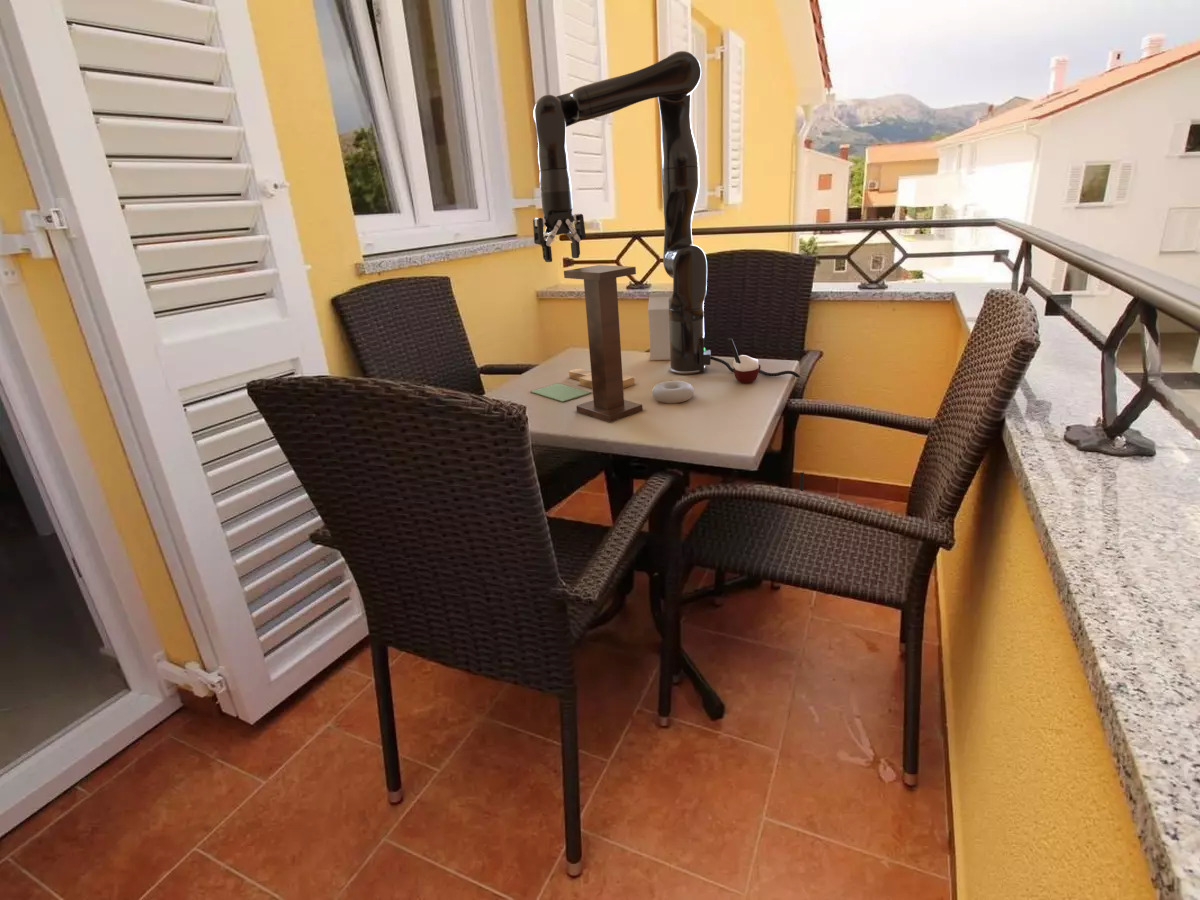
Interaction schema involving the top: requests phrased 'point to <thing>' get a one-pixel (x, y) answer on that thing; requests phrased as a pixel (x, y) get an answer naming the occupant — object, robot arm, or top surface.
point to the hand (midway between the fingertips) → (562, 259)
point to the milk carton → (659, 326)
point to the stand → (604, 342)
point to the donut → (672, 391)
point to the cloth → (560, 392)
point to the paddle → (586, 378)
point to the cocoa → (744, 366)
